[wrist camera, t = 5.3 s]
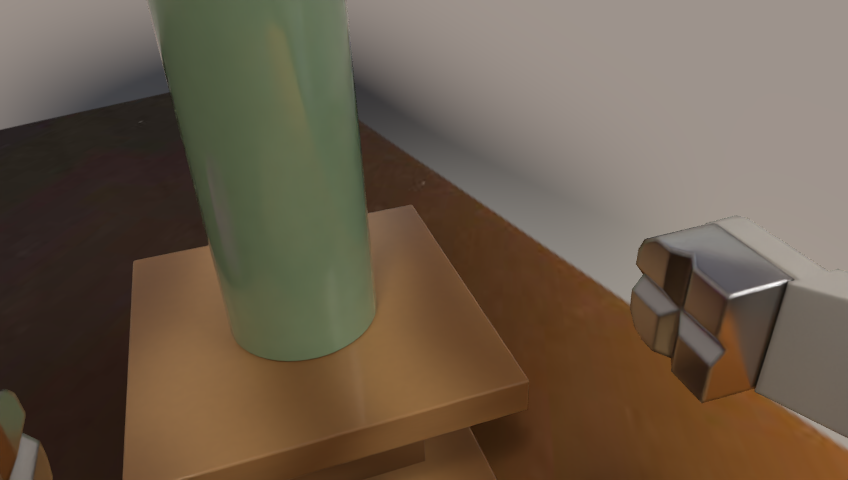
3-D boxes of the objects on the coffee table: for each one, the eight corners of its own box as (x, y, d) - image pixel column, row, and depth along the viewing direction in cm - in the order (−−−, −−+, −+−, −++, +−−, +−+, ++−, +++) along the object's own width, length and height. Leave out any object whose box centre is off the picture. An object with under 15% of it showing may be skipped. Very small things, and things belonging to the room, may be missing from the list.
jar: (359, 256, 25) (314, -151, 18) (398, 340, 21) (359, -142, 14) (220, 286, 24) (113, -138, 17) (234, 382, 20) (100, -125, 13)
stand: (418, 316, 31) (412, 203, 28) (522, 512, 22) (530, 380, 19) (171, 377, 29) (132, 260, 25) (178, 627, 20) (120, 496, 16)
